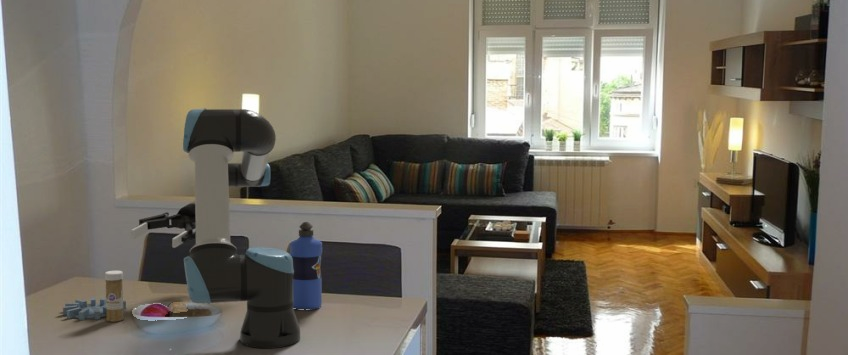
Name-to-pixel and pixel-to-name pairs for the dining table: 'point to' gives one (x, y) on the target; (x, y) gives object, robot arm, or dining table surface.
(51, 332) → the dining table surface
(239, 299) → the robot arm
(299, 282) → the water bottle
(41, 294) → the dining table surface
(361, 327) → the dining table surface
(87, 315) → the blue gear trivet
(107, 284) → the sprinkles bottle
